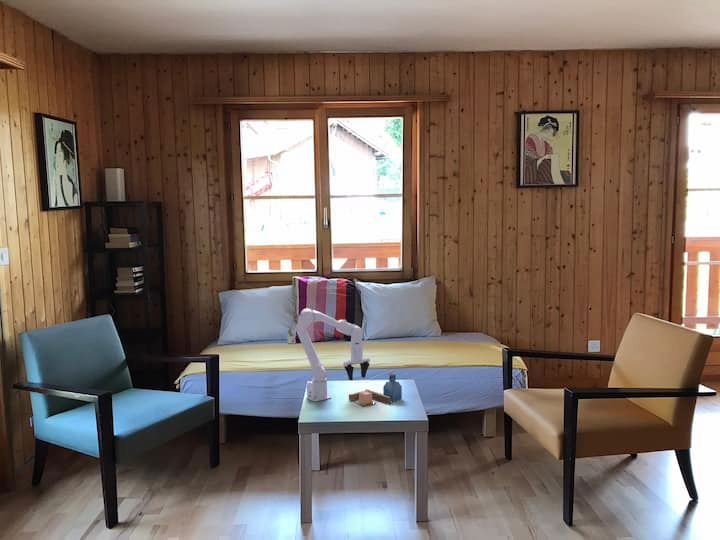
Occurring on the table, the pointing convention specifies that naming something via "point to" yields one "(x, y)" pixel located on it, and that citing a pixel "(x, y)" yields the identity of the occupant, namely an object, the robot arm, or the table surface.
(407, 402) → the table surface
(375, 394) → the corner arena
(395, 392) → the perfume bottle
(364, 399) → the terracotta cube
